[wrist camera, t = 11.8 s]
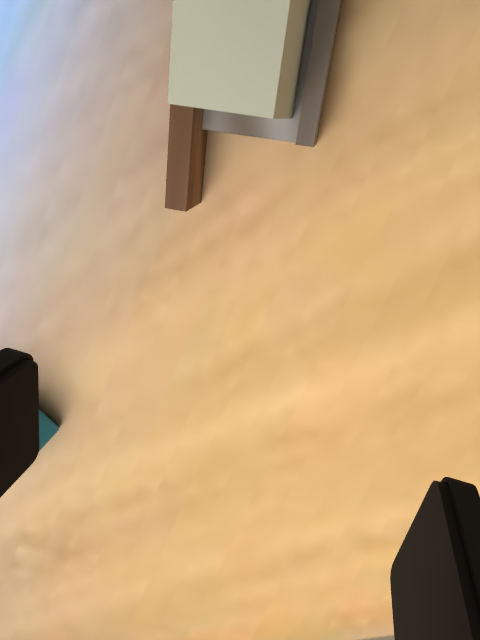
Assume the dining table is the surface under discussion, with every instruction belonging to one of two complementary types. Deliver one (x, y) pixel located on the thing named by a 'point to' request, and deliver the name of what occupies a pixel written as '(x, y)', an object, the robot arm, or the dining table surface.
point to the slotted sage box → (238, 55)
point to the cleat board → (302, 129)
